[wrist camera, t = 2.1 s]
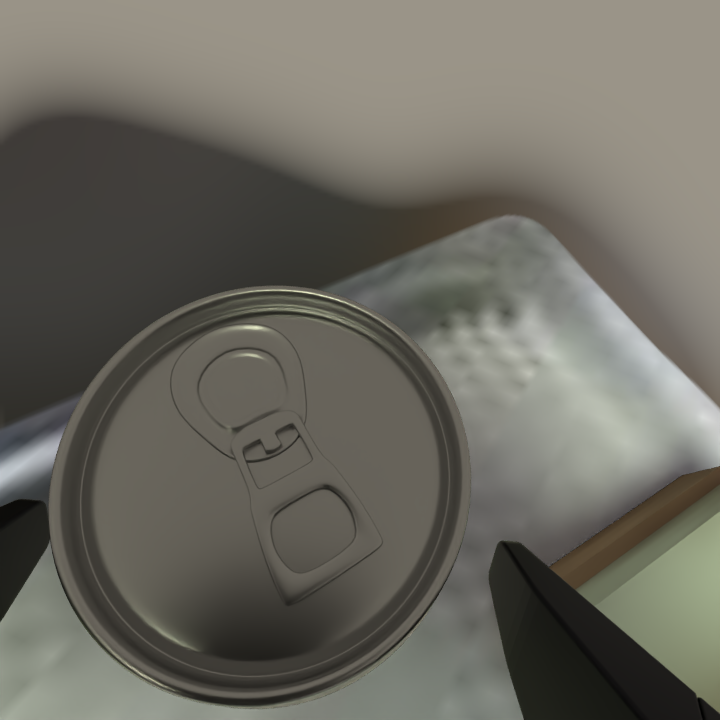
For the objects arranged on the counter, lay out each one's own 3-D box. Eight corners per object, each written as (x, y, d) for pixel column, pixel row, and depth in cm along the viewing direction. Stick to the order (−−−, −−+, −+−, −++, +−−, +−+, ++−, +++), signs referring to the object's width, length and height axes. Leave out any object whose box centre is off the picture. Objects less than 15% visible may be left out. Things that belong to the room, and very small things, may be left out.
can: (329, 418, 18) (357, 217, 8) (408, 557, 16) (597, 543, 6) (186, 493, 16) (-41, 360, 6) (254, 662, 14) (94, 948, 4)
